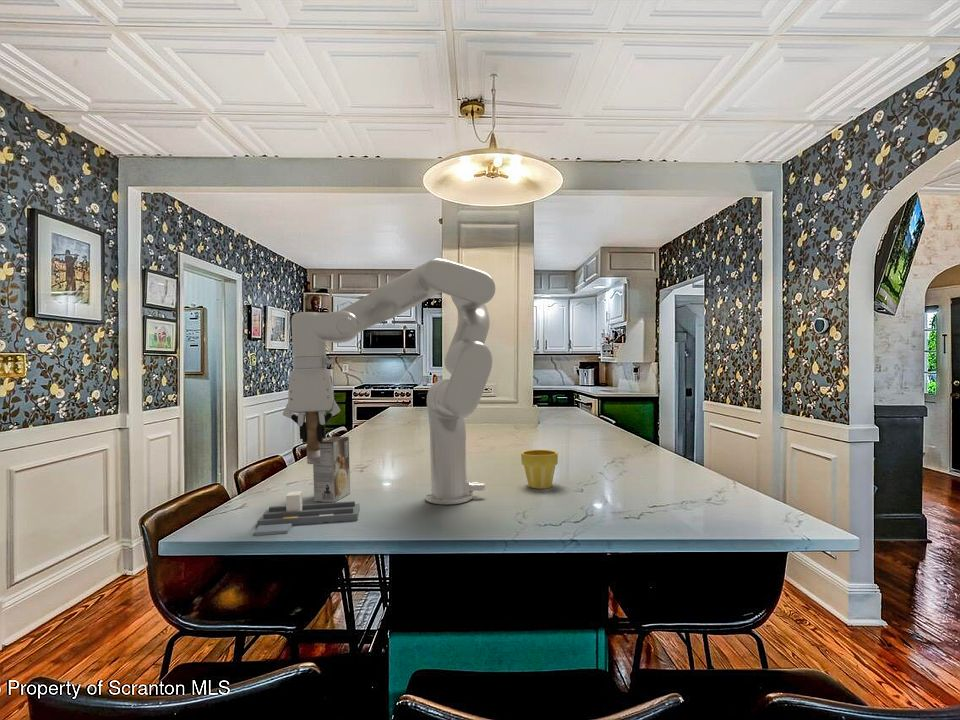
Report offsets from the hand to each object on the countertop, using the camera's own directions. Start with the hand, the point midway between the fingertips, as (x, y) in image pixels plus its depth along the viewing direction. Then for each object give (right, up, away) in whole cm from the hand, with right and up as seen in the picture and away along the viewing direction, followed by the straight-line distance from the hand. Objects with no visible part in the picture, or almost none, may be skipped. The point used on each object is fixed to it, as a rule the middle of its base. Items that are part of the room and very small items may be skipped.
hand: (313, 440), depth 125 cm
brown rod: (0, -5, 0) cm, 5 cm away
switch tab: (-4, -17, -1) cm, 17 cm away
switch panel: (0, -18, 0) cm, 18 cm away
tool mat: (-6, -19, -9) cm, 21 cm away
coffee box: (0, -19, +18) cm, 26 cm away
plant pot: (+57, -17, +26) cm, 65 cm away
